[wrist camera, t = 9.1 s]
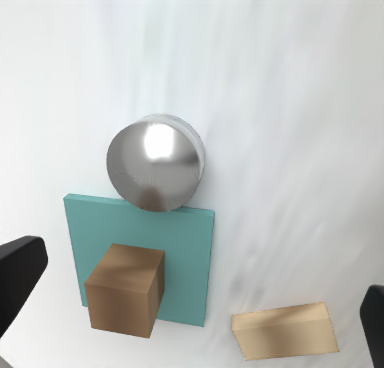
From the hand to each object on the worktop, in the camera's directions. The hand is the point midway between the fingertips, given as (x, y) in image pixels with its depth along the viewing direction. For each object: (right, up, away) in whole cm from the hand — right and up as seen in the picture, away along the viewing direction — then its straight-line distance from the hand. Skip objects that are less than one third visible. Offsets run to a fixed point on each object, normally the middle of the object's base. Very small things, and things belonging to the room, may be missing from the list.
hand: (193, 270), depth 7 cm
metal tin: (-2, +4, +12) cm, 13 cm away
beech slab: (+8, -10, +17) cm, 21 cm away
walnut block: (-5, -5, +15) cm, 17 cm away
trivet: (-5, -5, +16) cm, 17 cm away
